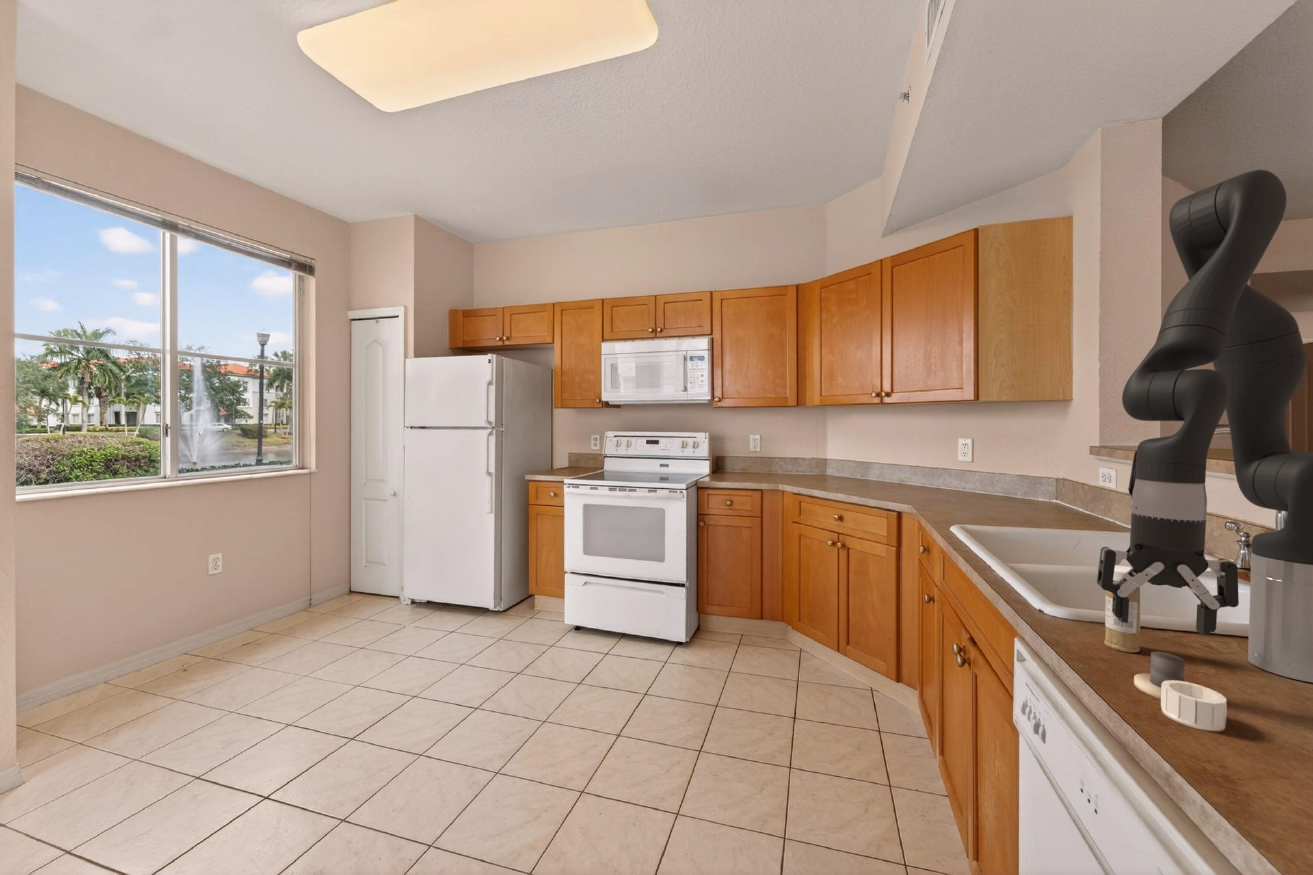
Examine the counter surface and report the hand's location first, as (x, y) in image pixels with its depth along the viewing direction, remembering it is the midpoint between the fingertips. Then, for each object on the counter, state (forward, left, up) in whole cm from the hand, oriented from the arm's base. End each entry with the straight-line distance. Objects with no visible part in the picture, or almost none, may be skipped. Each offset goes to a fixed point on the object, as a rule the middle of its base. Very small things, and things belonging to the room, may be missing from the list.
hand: (1161, 627), depth 74 cm
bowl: (+4, +7, -9) cm, 12 cm away
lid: (0, +1, -9) cm, 9 cm away
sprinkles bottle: (-8, -13, -9) cm, 18 cm away
